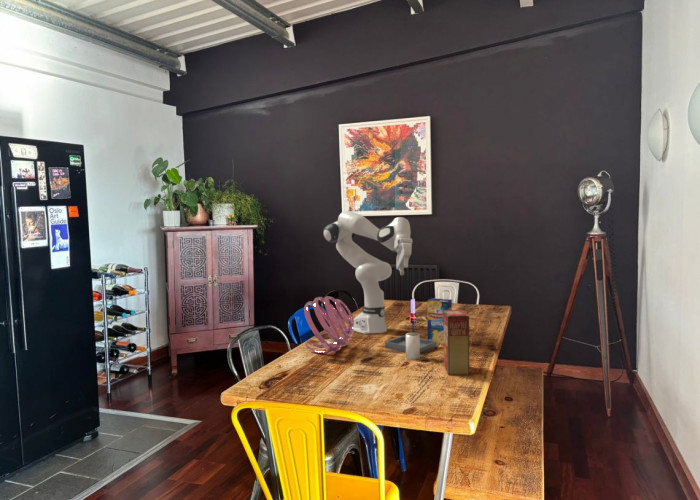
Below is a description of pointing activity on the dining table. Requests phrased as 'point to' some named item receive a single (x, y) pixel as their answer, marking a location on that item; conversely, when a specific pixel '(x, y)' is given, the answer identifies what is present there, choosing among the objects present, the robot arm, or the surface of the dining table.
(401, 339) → the tray
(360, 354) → the dining table surface
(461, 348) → the food packaging
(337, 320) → the spiral basket
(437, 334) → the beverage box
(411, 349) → the cup
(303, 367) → the dining table surface
